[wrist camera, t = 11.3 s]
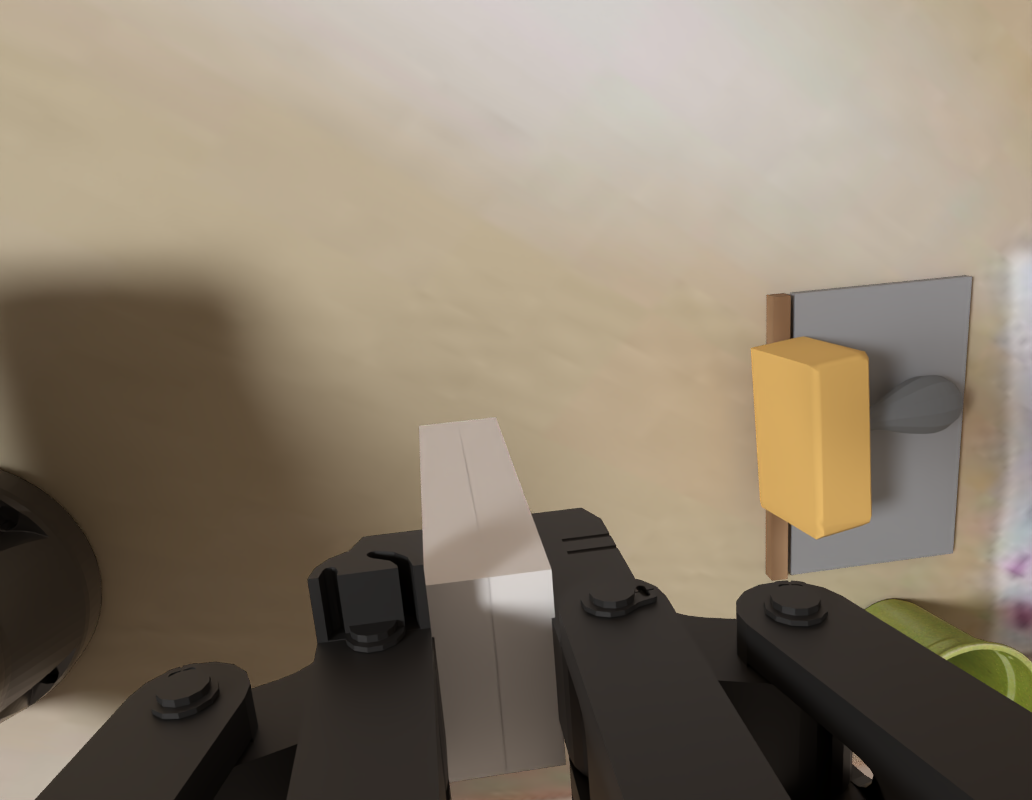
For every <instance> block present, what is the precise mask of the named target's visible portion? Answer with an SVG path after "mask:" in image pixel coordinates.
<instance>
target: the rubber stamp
mask: <svg viewBox="0 0 1032 800" xmlns="http://www.w3.org/2000/svg"><path fill="white" fill-rule="evenodd" d="M751 359H752V375H753V391H754V408H755V424H756V441H757V457H758V474H759V490H760V502H761V506H762V507H763V508H765V509H766V510H768V511H770V512H771V513H773V514H775V515H776V516H778V517H780V518H781V519H783V520H785V521H786V522H788V523H790V524H791V525H793V526H795V527H796V528H798V529H800V530H801V531H803V532H805V533H806V534H808V535H810V536H811V537H813V538H815V539H816V540H817V539H820V538H823V537H827V536H830V535H833V534H837V533H840V532H843V531H846V530H850V529H853V528H856V527H860V526H863V525H865V524H867V523H870V520H871V516H872V500H871V448H870V430H887V431H893V432H900V433H908V434H931V433H936V432H940V431H942V430H944V429H946V428H947V427H948V426H950V425H951V424H952V423H953V422H954V421H955V420H957V419H958V418H959V416H960V414H961V411H962V408H963V399H962V394H961V392H960V390H959V389H958V387H957V386H956V384H955V383H953V382H951V381H949V380H948V379H946V378H944V377H942V376H938V375H928V376H917V377H913V378H910V379H908V380H905V381H904V382H902V383H900V384H899V385H897V386H896V387H895V388H893V389H892V390H891V391H890V392H888V393H887V394H886V395H885V396H884V397H882V398H881V399H880V400H879V401H877V402H876V403H875V404H873V405H871V406H870V395H869V357H868V356H867V354H866V352H865V351H861V350H857V349H853V348H849V347H845V346H841V345H837V344H833V343H828V342H824V341H820V340H816V339H812V338H808V337H804V336H802V337H797V338H793V339H788V340H784V341H779V342H775V343H771V344H766V345H762V346H757V347H753V348H751Z"/></svg>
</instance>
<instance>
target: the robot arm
mask: <svg viewBox="0 0 1032 800" xmlns="http://www.w3.org/2000/svg"><path fill="white" fill-rule="evenodd" d="M419 440H420V470H421V500H422V530H415V531H407V532H399V533H391V534H382V535H374V536H366V537H362V539H361V540H360V541H359V542H358V543H357V544H356V545H355V546H354V547H353V548H352V549H351V550H350V551H348V552H345V553H343V554H340V555H338V556H335V557H332V558H330V559H328V560H326V561H325V562H323V563H322V564H320V565H319V566H318V567H316V568H315V569H314V570H313V571H312V573H311V574H310V576H309V578H308V579H307V580H308V586H309V593H310V599H311V605H312V611H313V618H314V624H315V630H316V636H317V643H318V644H317V649H316V654H315V659H314V662H313V663H312V664H310V665H309V666H307V667H305V668H303V669H302V670H300V671H298V672H296V673H294V674H292V675H289V676H287V677H284V678H282V679H279V680H276V681H273V682H270V683H267V684H264V685H261V686H258V687H255V688H252V689H251V685H250V681H249V678H248V675H247V673H246V671H244V670H242V669H241V668H239V667H237V666H236V665H234V664H228V663H220V662H209V663H200V664H198V663H193V664H189V665H184V666H183V667H182V668H180V667H178V668H175V669H172V670H169V671H167V672H166V673H164V674H163V675H161V676H159V677H157V678H155V679H153V680H151V681H149V682H147V683H145V684H144V685H143V686H142V687H140V688H139V689H138V690H137V691H136V692H134V693H133V694H132V695H131V696H130V697H128V698H127V699H126V701H125V702H124V703H123V704H122V705H121V706H120V707H119V708H118V709H117V710H116V712H115V713H114V714H113V715H112V716H111V717H110V718H109V719H108V720H107V721H106V722H105V724H104V725H103V726H102V727H101V728H100V729H99V730H98V731H97V732H96V733H95V734H94V736H93V737H92V738H91V739H90V740H89V741H88V742H87V743H86V744H85V745H84V746H83V748H82V749H81V750H80V751H79V752H78V753H77V754H76V755H75V756H74V757H73V759H72V760H71V761H70V762H69V763H68V764H67V765H66V766H65V767H64V768H63V769H62V771H61V772H60V773H59V774H58V775H57V776H56V777H55V778H54V779H53V780H52V781H51V783H50V784H49V785H48V786H47V787H46V788H45V789H44V790H43V791H42V792H41V793H40V795H39V796H38V797H37V798H36V799H35V800H451V794H450V785H449V783H450V782H456V781H463V780H469V779H476V778H482V777H489V776H495V775H502V774H508V773H515V772H521V771H528V770H534V769H541V768H547V767H554V766H560V765H566V761H565V748H564V739H565V743H566V746H567V750H568V754H569V761H570V775H571V789H572V800H1032V712H1030V711H1029V710H1027V709H1026V708H1024V707H1022V706H1021V705H1019V704H1017V703H1016V702H1014V701H1012V700H1011V699H1009V698H1008V697H1006V696H1004V695H1003V694H1001V693H999V692H998V691H996V690H995V689H993V688H991V687H990V686H988V685H986V684H985V683H983V682H982V681H980V680H978V679H977V678H975V677H973V676H972V675H970V674H968V673H967V672H965V671H964V670H962V669H960V668H959V667H957V666H955V665H954V664H952V663H951V662H949V661H947V660H946V659H944V658H942V657H941V656H939V655H937V654H936V653H934V652H933V651H931V650H929V649H928V648H926V647H924V646H923V645H921V644H920V643H918V642H916V641H915V640H913V639H911V638H910V637H908V636H906V635H905V634H903V633H902V632H900V631H898V630H897V629H895V628H893V627H892V626H890V625H889V624H887V623H885V622H884V621H882V620H880V619H879V618H877V617H876V616H874V615H872V614H871V613H869V612H867V611H866V610H864V609H862V608H861V607H859V606H858V605H856V604H854V603H853V602H851V601H849V600H848V599H846V598H845V597H843V596H841V595H839V594H837V593H834V592H832V591H830V590H828V589H826V588H823V587H819V586H815V585H810V584H806V583H804V582H800V581H791V582H788V581H776V582H774V583H768V584H761V585H758V586H756V587H753V588H751V589H749V590H747V591H744V593H743V594H742V595H741V596H740V597H739V599H738V600H737V601H736V619H723V618H704V617H695V616H687V615H683V614H679V613H676V612H675V610H674V608H673V607H672V605H671V603H670V602H669V600H668V599H667V597H666V595H665V594H663V593H662V592H661V591H660V590H659V589H658V588H657V587H656V586H654V585H651V584H649V583H647V582H644V581H642V580H639V579H635V578H634V576H633V574H632V572H631V571H630V569H629V567H628V565H627V564H626V562H625V560H624V558H623V557H622V555H621V553H620V551H619V550H618V548H616V544H615V542H614V541H613V539H612V537H611V536H609V532H608V530H607V528H606V527H605V525H604V523H603V521H602V520H601V518H599V517H597V516H595V515H593V514H592V513H590V512H588V511H586V510H584V509H583V508H575V509H567V510H559V511H550V512H542V513H534V514H531V512H530V509H529V506H528V504H527V501H526V498H525V495H524V493H523V490H522V487H521V485H520V482H519V479H518V476H517V474H516V471H515V468H514V465H513V463H512V460H511V457H510V454H509V452H508V449H507V446H506V444H505V441H504V438H503V435H502V433H501V430H500V427H499V424H498V422H497V419H496V417H492V418H483V419H474V420H465V421H456V422H447V423H438V424H429V425H420V426H419ZM101 599H102V588H101V578H100V573H99V568H98V565H97V561H96V558H95V556H94V553H93V551H92V548H91V546H90V544H89V542H88V540H87V539H86V537H85V535H84V534H83V532H82V531H81V529H80V528H79V526H78V525H77V524H76V522H75V521H74V520H73V518H72V517H71V516H70V515H69V514H68V513H67V512H66V511H65V510H64V509H63V508H62V507H61V506H60V505H59V504H58V503H57V502H56V501H55V500H53V499H52V498H51V497H50V496H48V495H47V494H46V493H44V492H43V491H42V490H40V489H38V488H37V487H35V486H34V485H32V484H30V483H29V482H27V481H25V480H23V479H21V478H19V477H17V476H15V475H13V474H10V473H8V472H5V471H2V470H0V723H2V722H3V721H5V720H7V719H9V718H10V717H12V716H14V715H15V714H17V713H19V712H21V711H22V710H24V709H26V708H27V707H29V706H31V705H32V704H34V703H35V702H37V701H38V700H40V699H41V698H42V697H44V696H45V695H46V694H47V693H49V692H50V691H51V690H52V689H53V688H54V687H55V686H56V685H57V684H58V683H59V682H60V681H61V680H62V679H63V678H64V677H65V676H66V674H67V673H68V672H69V671H70V669H71V668H72V667H73V665H74V664H75V662H76V661H77V659H78V658H79V657H80V655H81V654H82V652H83V651H84V649H85V648H86V646H87V645H88V643H89V641H90V639H91V637H92V635H93V633H94V631H95V628H96V625H97V622H98V618H99V614H100V609H101ZM852 752H854V753H855V754H856V755H857V756H858V757H859V758H860V759H861V760H862V761H863V762H864V763H865V764H866V765H867V766H868V767H869V768H870V770H871V771H872V773H873V779H870V778H869V777H867V776H866V775H864V774H863V773H862V772H861V771H860V770H858V769H857V768H856V767H855V766H854V765H853V764H852Z"/></svg>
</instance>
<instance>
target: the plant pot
mask: <svg viewBox="0 0 1032 800" xmlns="http://www.w3.org/2000/svg"><path fill="white" fill-rule="evenodd" d="M865 610H866V611H867V612H869V613H871V614H872V615H874V616H876V617H877V618H879V619H880V620H882V621H884V622H885V623H887V624H889V625H890V626H892V627H893V628H895V629H897V630H898V631H900V632H902V633H903V634H905V635H906V636H908V637H910V638H911V639H913V640H915V641H916V642H918V643H920V644H921V645H923V646H924V647H926V648H928V649H929V650H931V651H933V652H934V653H936V654H937V655H939V656H941V657H942V658H944V659H946V660H947V661H949V662H951V663H952V664H954V665H955V666H957V667H959V668H960V669H962V670H964V671H965V672H967V673H968V674H970V675H972V676H973V677H975V678H977V679H978V680H980V681H982V682H983V683H985V684H986V685H988V686H990V687H991V688H993V689H995V690H996V691H998V692H999V693H1001V694H1003V695H1004V696H1006V697H1008V698H1009V699H1011V700H1012V701H1014V702H1016V703H1017V704H1019V705H1021V706H1022V707H1024V708H1026V709H1027V710H1029V711H1030V712H1032V662H1031V661H1030V660H1029V659H1028V658H1027V657H1026V656H1025V655H1023V654H1022V653H1020V652H1019V651H1017V650H1015V649H1013V648H1011V647H1009V646H1006V645H1003V644H1000V643H994V642H987V641H984V640H981V639H976V638H974V637H972V636H970V635H968V634H967V633H965V632H963V631H961V630H959V629H958V628H956V627H954V626H952V625H951V624H949V623H947V622H945V621H943V620H942V619H940V618H938V617H936V616H935V615H933V614H931V613H930V612H928V611H926V610H924V609H923V608H921V607H919V606H917V605H916V604H914V603H911V602H907V601H902V600H897V599H889V600H884V601H880V602H877V603H875V604H873V605H871V606H870V607H868V608H867V609H865Z"/></svg>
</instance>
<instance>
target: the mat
mask: <svg viewBox="0 0 1032 800" xmlns="http://www.w3.org/2000/svg"><path fill="white" fill-rule="evenodd" d="M971 286H972V276H966V275H964V276H954V277H944V278H934V279H924V280H914V281H904V282H893V283H883V284H873V285H863V286H853V287H843V288H832V289H822V290H812V291H802V292H792V293H790V296H791V310H790V339H793V338H797V337H802V336H804V337H808V338H812V339H816V340H820V341H824V342H828V343H833V344H837V345H841V346H845V347H849V348H853V349H857V350H861V351H865V352H866V354H867V356H868V357H869V395H870V406H871V405H873V404H875V403H876V402H877V401H879V400H880V399H881V398H882V397H884V396H885V395H886V394H887V393H888V392H890V391H891V390H892V389H893V388H895V387H896V386H897V385H899V384H900V383H902V382H904V381H905V380H908V379H910V378H913V377H917V376H928V375H938V376H942V377H944V378H946V379H948V380H949V381H951V382H953V383H955V384H956V386H957V387H958V389H959V390H960V392H961V394H962V399H963V400H964V386H965V372H966V357H967V343H968V329H969V314H970V300H971ZM962 415H963V408H962V411H961V414H960V416H959V418H958V419H957V420H955V421H954V422H953V423H952V424H951V425H950V426H948V427H947V428H946V429H944V430H942V431H940V432H936V433H931V434H908V433H900V432H893V431H887V430H870V448H871V500H872V516H871V520H870V523H867V524H865V525H863V526H860V527H856V528H853V529H850V530H846V531H843V532H840V533H837V534H833V535H830V536H827V537H823V538H820V539H817V540H816V539H815V538H813V537H811V536H810V535H808V534H806V533H805V532H803V531H801V530H800V529H798V528H796V527H795V526H793V525H791V524H790V523H788V572H789V573H790V574H791V575H794V574H802V573H809V572H817V571H824V570H832V569H839V568H846V567H854V566H861V565H869V564H876V563H884V562H891V561H898V560H906V559H913V558H921V557H928V556H936V555H943V554H951V553H953V544H954V529H955V515H956V501H957V486H958V472H959V458H960V443H961V429H962Z"/></svg>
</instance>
